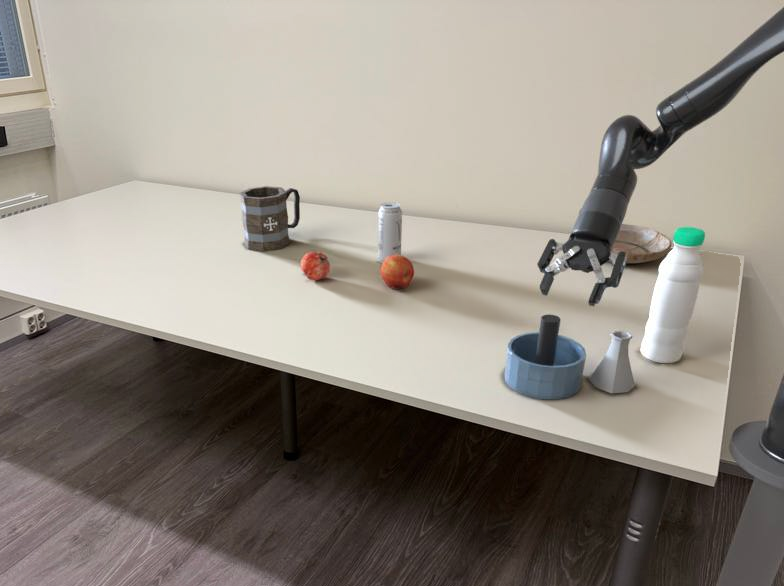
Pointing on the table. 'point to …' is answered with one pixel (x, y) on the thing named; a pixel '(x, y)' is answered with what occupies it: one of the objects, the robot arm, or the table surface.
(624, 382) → the flask
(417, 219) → the table surface
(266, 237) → the mug
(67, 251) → the table surface
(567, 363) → the processor bowl
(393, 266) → the apple
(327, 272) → the pomegranate
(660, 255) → the ceramic bowl
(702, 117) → the robot arm
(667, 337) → the water bottle
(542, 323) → the chopping blade
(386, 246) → the energy drink can
